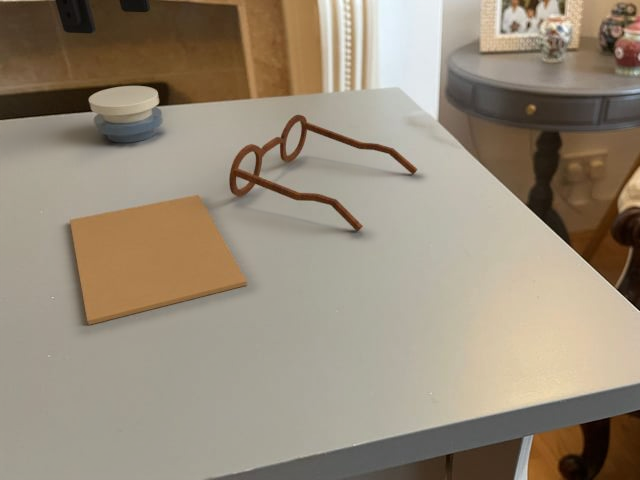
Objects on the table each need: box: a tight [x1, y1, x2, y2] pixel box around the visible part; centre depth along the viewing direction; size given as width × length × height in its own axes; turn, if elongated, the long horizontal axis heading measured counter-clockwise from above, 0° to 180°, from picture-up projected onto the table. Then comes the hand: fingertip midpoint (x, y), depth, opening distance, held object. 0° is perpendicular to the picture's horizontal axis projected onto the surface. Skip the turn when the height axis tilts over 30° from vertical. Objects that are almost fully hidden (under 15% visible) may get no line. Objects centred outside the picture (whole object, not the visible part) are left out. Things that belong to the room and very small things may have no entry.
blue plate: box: [93, 106, 164, 144], centre depth 73 cm, size 7×7×2 cm
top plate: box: [88, 85, 160, 123], centre depth 72 cm, size 7×7×2 cm
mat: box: [69, 194, 248, 326], centre depth 52 cm, size 16×11×1 cm
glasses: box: [228, 114, 418, 232], centre depth 60 cm, size 13×13×5 cm
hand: (110, 21), depth 67 cm, fingers open, 9 cm apart
